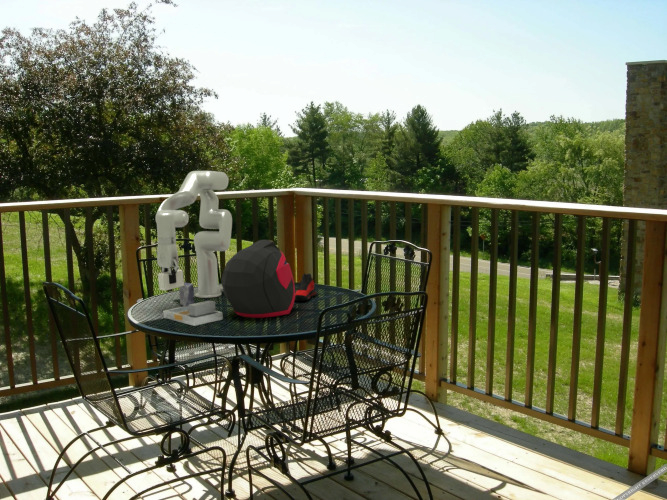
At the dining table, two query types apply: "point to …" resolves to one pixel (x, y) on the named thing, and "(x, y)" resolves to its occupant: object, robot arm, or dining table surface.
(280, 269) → the helmet
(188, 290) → the rock
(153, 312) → the dining table surface
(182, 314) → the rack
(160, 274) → the off-white rectangular block
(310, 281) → the athletic shoe
